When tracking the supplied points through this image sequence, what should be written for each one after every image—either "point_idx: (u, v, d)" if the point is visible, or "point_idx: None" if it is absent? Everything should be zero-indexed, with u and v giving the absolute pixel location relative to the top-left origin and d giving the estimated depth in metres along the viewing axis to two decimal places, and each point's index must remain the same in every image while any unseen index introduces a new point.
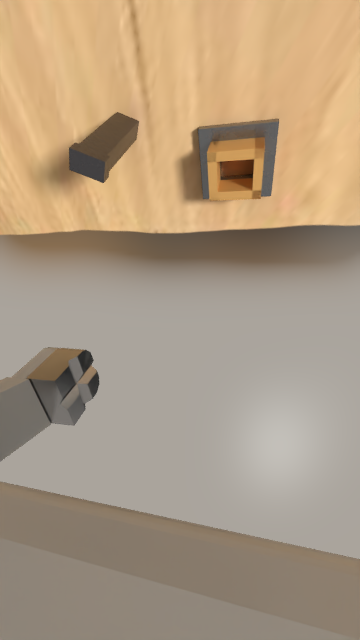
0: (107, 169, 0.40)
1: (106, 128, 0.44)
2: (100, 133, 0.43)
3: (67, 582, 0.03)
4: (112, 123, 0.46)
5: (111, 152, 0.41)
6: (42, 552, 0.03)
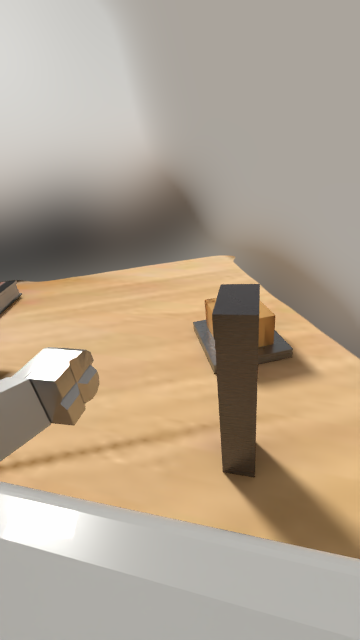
0: None
1: None
2: None
3: (67, 582, 0.03)
4: None
5: None
6: (42, 552, 0.03)
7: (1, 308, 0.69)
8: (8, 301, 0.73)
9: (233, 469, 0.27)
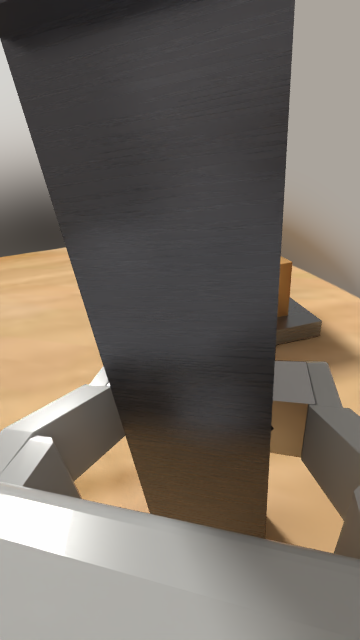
0: None
1: None
2: None
3: (67, 582, 0.03)
4: None
5: None
6: (42, 552, 0.03)
7: None
8: None
9: None
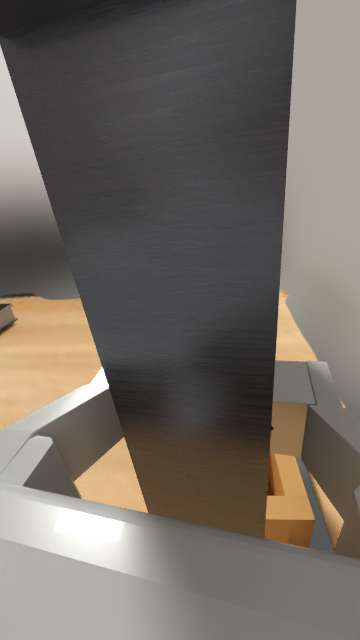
0: None
1: None
2: None
3: (67, 582, 0.03)
4: None
5: None
6: (42, 552, 0.03)
7: None
8: None
9: None
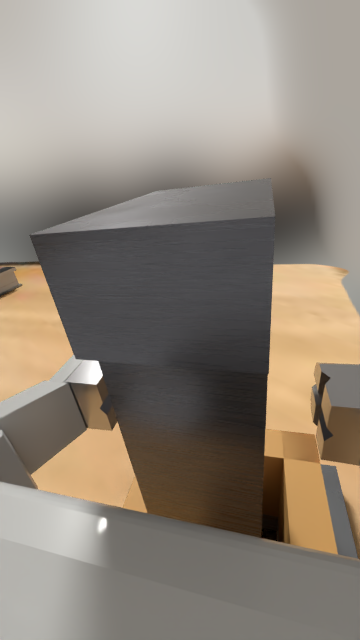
0: None
1: None
2: None
3: (67, 582, 0.03)
4: None
5: None
6: (42, 552, 0.03)
7: None
8: None
9: None
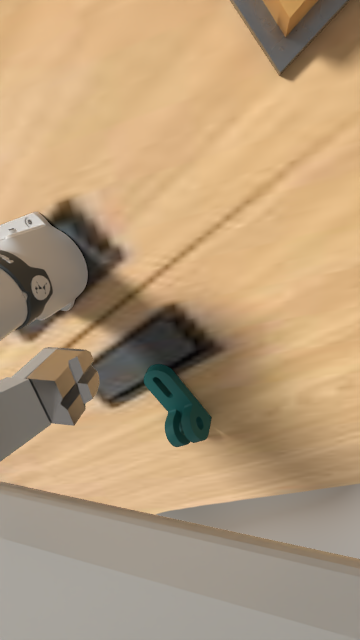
0: None
1: None
2: None
3: (67, 582, 0.03)
4: None
5: None
6: (42, 552, 0.03)
7: None
8: None
9: None
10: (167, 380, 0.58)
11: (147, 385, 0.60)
